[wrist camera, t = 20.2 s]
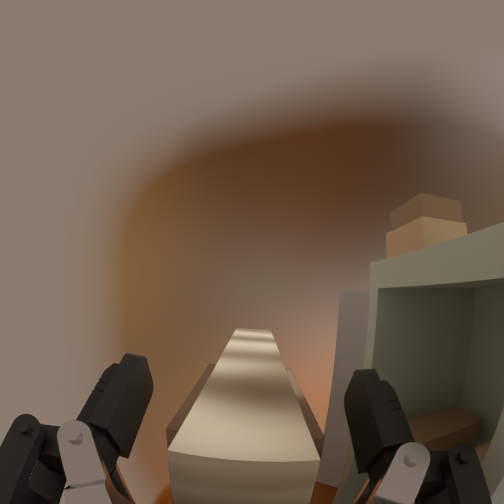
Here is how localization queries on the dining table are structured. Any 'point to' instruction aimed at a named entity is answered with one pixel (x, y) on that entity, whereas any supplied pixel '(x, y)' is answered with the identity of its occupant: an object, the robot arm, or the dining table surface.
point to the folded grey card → (343, 382)
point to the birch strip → (244, 433)
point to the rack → (439, 335)
